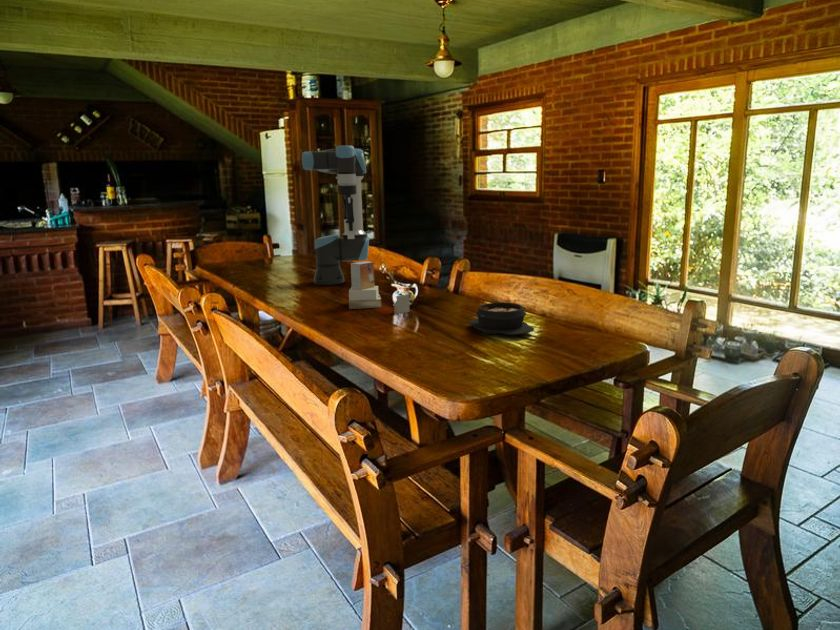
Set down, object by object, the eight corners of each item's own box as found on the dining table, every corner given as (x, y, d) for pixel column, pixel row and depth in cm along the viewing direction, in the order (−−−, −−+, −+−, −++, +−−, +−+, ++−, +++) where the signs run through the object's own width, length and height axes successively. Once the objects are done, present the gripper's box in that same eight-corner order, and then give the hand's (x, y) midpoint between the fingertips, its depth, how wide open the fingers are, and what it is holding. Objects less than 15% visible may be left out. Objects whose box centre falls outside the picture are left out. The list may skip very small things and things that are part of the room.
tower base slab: (349, 304, 253) (348, 295, 252) (379, 303, 255) (379, 294, 254) (349, 310, 243) (348, 300, 242) (381, 308, 244) (381, 299, 243)
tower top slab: (352, 295, 252) (352, 286, 251) (378, 295, 252) (378, 285, 251) (349, 300, 243) (348, 290, 242) (376, 299, 243) (375, 289, 242)
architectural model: (392, 313, 235) (391, 294, 233) (407, 310, 239) (407, 292, 237) (397, 315, 232) (396, 296, 231) (412, 312, 236) (411, 294, 234)
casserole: (456, 328, 210) (456, 304, 208) (496, 319, 220) (496, 297, 218) (505, 343, 190) (505, 318, 188) (546, 333, 200) (547, 309, 198)
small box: (360, 290, 242) (359, 264, 240) (351, 288, 246) (350, 263, 244) (375, 287, 248) (373, 261, 246) (365, 285, 252) (364, 260, 249)
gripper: (335, 183, 256) (338, 233, 261) (340, 186, 232) (343, 241, 238) (352, 183, 257) (355, 232, 263) (359, 185, 233) (362, 240, 239)
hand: (349, 236), depth 250 cm, fingers open, 13 cm apart
